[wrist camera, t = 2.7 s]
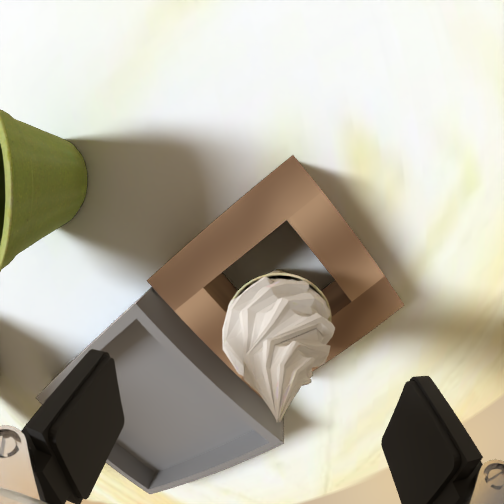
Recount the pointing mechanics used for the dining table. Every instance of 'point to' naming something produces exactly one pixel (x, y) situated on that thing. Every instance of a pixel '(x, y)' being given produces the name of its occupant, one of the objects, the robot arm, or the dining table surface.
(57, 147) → the plant pot
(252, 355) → the ice cream cone
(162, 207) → the dining table surface
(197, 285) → the cone stand
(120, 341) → the grey tray
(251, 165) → the dining table surface
